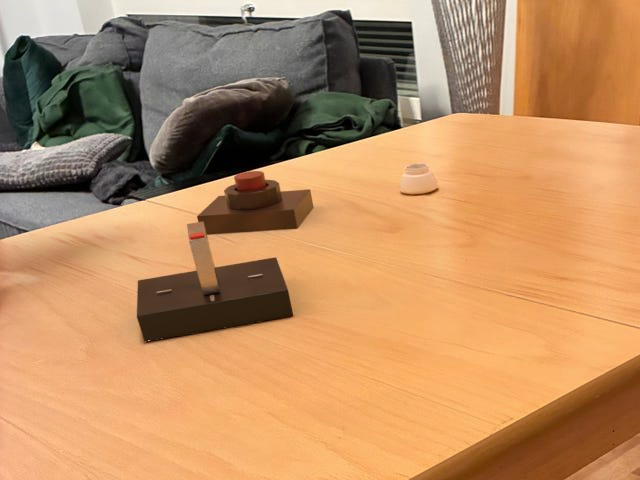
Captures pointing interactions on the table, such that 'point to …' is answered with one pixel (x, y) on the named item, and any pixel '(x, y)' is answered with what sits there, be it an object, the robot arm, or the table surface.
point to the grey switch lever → (203, 258)
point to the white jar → (418, 179)
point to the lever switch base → (212, 300)
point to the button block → (256, 210)
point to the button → (250, 181)
